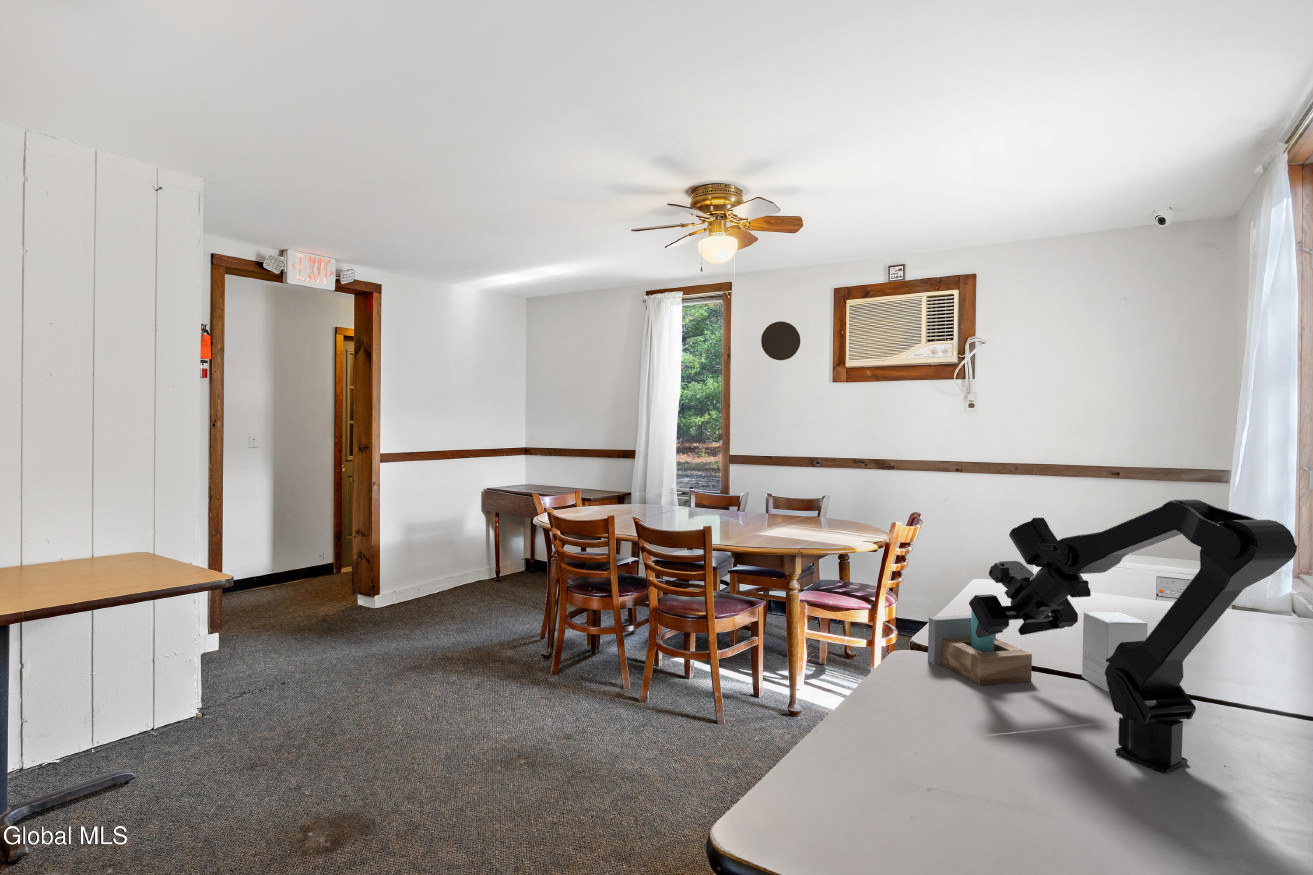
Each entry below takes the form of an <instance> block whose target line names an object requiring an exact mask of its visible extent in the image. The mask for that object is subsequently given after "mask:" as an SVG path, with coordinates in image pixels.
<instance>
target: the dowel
mask: <svg viewBox="0 0 1313 875" xmlns="http://www.w3.org/2000/svg"><path fill="white" fill-rule="evenodd" d="M970 609H971V608H970ZM970 611H971V614H970V615H971V647H972V648H974V649H977V650H979V651H981V652H994V635H990V636H986V637H982V638H978V637H977V635H976V629H977V625H978V620H977V618H976V616H975V614H974V613H973V611H972V609H971V610H970Z"/></svg>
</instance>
